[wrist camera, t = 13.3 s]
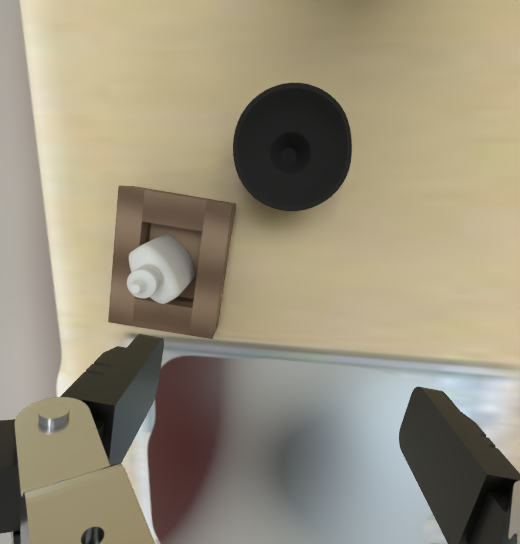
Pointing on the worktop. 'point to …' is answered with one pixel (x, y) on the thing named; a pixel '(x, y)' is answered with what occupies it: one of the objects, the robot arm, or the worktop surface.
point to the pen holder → (292, 146)
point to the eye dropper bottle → (160, 269)
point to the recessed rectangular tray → (198, 243)
